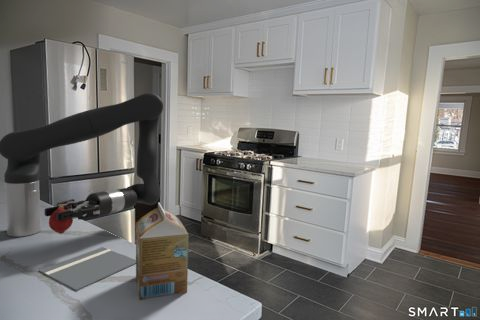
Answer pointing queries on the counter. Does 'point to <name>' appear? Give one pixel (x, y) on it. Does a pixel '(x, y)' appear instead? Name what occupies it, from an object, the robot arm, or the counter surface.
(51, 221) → the onion
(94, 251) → the mat
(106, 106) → the robot arm
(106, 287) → the counter surface
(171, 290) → the milk carton
